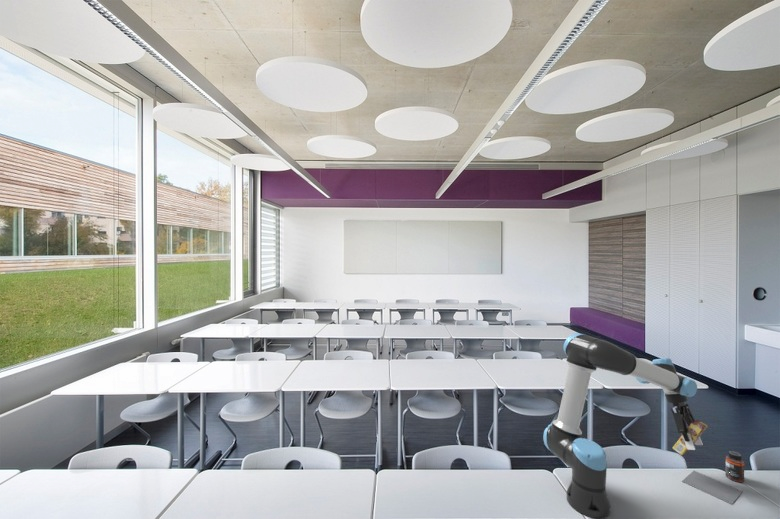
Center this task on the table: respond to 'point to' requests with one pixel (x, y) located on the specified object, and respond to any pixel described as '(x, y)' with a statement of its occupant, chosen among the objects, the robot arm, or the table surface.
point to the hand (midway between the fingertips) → (695, 447)
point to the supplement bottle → (734, 467)
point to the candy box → (695, 433)
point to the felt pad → (712, 487)
